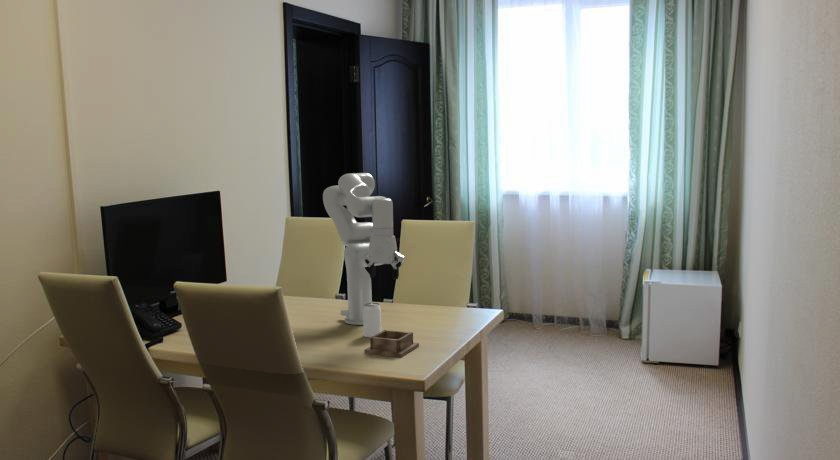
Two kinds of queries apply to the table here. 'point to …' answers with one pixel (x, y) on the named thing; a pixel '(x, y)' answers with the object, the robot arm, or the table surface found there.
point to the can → (371, 319)
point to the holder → (392, 343)
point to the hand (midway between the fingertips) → (384, 278)
